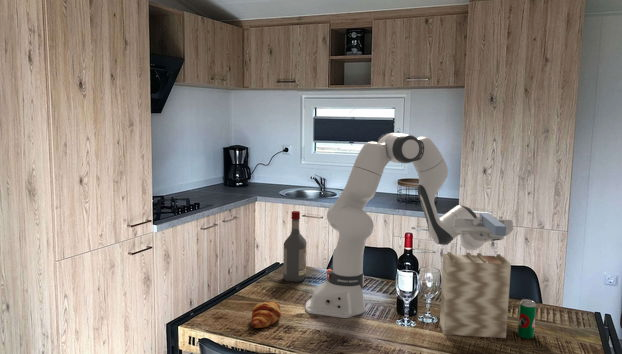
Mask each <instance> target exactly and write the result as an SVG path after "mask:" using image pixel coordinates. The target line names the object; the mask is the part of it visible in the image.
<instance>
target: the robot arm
mask: <svg viewBox="0 0 622 354" xmlns="http://www.w3.org/2000/svg"><path fill="white" fill-rule="evenodd" d="M389 162H392V163H397V164H410V163H412V164H413V167H414V168H415V171H416V172H417V176H418V186H417V188H416V189H417V190H416V192H417V196H418V200H419V202H420V205H421V208H422V212H423V214H424V219H425V220H426V221H425V222H426V223H427V224H426V225H427V229H428V233H429V236H430V237H431V240H433V242H434V243H436V244H437V245H441V246H447V245H449V244H450V243H451V242H453V240H454V239H456V238H457V237H458V236H459V237H460V239H459V240H460V241H459V242H460V246H461V247H462V248H463V249H464V250H466V251H472V252H473V251H476V250H478V249H480V248H481V247H482V246H484V245H485V243H489V242H495V241H503V240H505V239H504V238H505V237H506V236H508V235H510V234H511V233H512V232H513V231H514V222H513V220H511V219H502V218H500V219H499V218H497V216H493V217H494V218H496V219H497V220H498V221H500V222H501V223H502V224H504V225H505V226H506V236H496V235H494V234H493V233H492V232H491V231H490V230H488V229H487V228H486V227H485V226H484V225H483V224H482V222H483V217H479V216H477V214H476V213H475V212H474V210H472V209H471V208H470V207H468V206H465V205H462V204H461V205H460V204H457V205H456V206H454V207H452V208H451V209H450V210H449V211H448V212H446V213H445V214H443V215H442V216H439V213H438V210H437V207H436V205H435V198H436V196H437V193H438V192H439V191H440V190H441V187H442V186H443V185H444V183H445V182H446V180H447V178H448V175H449V168H448V165H447V162H446V160H445V159H444V157H443V155H442V153H441V152H440V150H439V148H438V147H437V146H436V144H435V143H434V141H433V140H432V139H431V137H428V136H419V137H416V136H414V135H413V134H410V133H403V132H387V133H384V134H382V135H381V136H380V137H378V139H376V141H368V142H365V144H363V146H362V147H361V149H360V151H359V153H358V154H357V156H356V159H355V160H354V163H353V166H352V168H351V171H350V174H349V176H348V178H347V179H348V180H347V182H346V184H345V187H344V188H343V190H342V191H341V192H340V195H339V196H338V198H337V200H336V201H335V202H334V204H332V205H331V206H330V207H329V208H328V209H327V212H326V219H327V222H328V224H329V225H330V227H331V228H332V229H333V230H334V231H336V232H338V240H337V245H336V246H335V248H334V249H333V251H332V252H333V254H332V255H333V256H332V269H331V268H328V269H327V270H326V281H324V282H323V283H321V284H319V285H318V286H316V287H315V288H314V290H313V292H312V294H311V298H309V299H308V300H306V303H305V306H304V307H305V311H306V313H308V314H310V315H311V314H312V315H319V316H328V317H333V318H341V319H349V318H351V317H354V316H358V315H362V314H364V313H365V311H366V309H367V308H366V305H365V299H364V291H363V288H364V286H365V285H364V281H365V279H364V278H365V275H364V271H363V267H364V251H365V246H366V243H367V241H368V238H369V237H370V236H371V235H372V233H373V230H374V221H373V219H372V218H371V216H370V215H369V214H368V213H367V212H366V211H365V210H364V208H365V207H366V205H367V203H368V202H369V201H370V200H372V199H373V198H374V196H375V195H376V192H377V191H378V190H377V189H378V188H379V184H380V182H381V179H382V176H383V174H384V170H385V168H386V166H387V165H388V164H389Z"/></svg>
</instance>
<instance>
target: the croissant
mask: <svg viewBox="0 0 622 354" xmlns="http://www.w3.org/2000/svg"><path fill="white" fill-rule="evenodd" d="M252 309H253V310H252V312H251V321H250V324H251V326H252V327H253V328H255V329H259V328H261V329H262V328H268V327H269V326H271V325H274V324H275V323H276V322H277V321H278V320H279V319H281V318H282V313H281V304H280V303H279V302H276V301H269V300H268V301H265V302H260V303H257V304H255V306H254V307H253V308H252Z"/></svg>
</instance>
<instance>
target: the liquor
mask: <svg viewBox="0 0 622 354" xmlns="http://www.w3.org/2000/svg"><path fill="white" fill-rule="evenodd" d="M300 217H301V212H300V211H298V210H293V211H291V218H290V219H291V231H290V234H289V235H288V237H287V238H286V239H285V241H284V243H283V272H282V274H283V275H282V278H283V280H284V281H286V282H293V281H294V282H295V283H298V282H299V283H300V282H303V281H304V279H305V278H306V275H307V240H306V239H305V237H304V236H303V235H302V234H301V233H300V232H301V231H300V219H301V218H300Z"/></svg>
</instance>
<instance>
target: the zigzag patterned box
mask: <svg viewBox="0 0 622 354" xmlns="http://www.w3.org/2000/svg"><path fill="white" fill-rule="evenodd" d="M442 258H443V259H442V274H441V275H442V277H441V291H440V293H441V297H440V298H441V299H440V310H439V311H440V313H439V315H440V316H439V326H440V328H441V331H442V334H443V335H451V336H452V335H453V336H464V337H465V336H466V337H469V336H470V337H479V338H480V337H483V338H497V339H506V338H507V327H508V314H509V301H510V300H509V299H510V284H511V270H512V269H511V268H512V267H511V266H512V264H511V263H510V262H509V261H508V260H507V259H506V257H504V256H502V255H501V254H498V253H497V254H495V255H483V254H481V253H476V255H475V254H473V255H472V254H471V253H470V252H466V253H465V254H455V253H454V254H453V253H452V252H450V251H447V253H443V257H442Z"/></svg>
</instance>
